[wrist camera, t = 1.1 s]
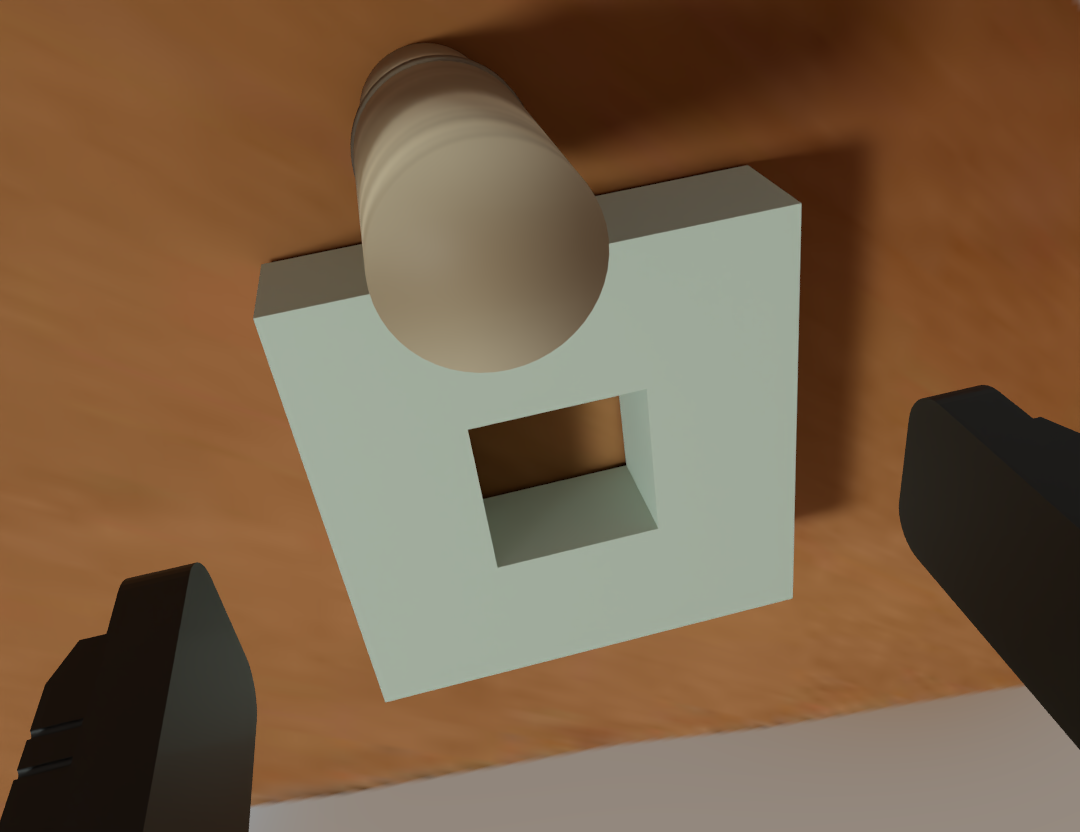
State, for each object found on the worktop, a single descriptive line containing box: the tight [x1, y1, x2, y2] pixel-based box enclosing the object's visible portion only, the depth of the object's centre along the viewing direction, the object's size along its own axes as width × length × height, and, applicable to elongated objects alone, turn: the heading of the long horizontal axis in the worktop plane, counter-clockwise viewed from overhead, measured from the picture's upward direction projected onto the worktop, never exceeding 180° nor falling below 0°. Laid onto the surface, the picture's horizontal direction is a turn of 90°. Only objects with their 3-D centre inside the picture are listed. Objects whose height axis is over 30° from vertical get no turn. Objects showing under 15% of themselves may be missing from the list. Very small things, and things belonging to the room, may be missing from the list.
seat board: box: [253, 165, 802, 702], centre depth 32 cm, size 16×16×4 cm
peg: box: [351, 43, 609, 373], centre depth 22 cm, size 5×5×12 cm
